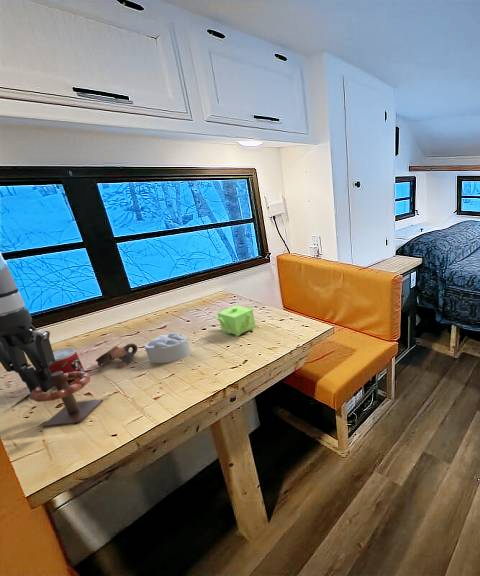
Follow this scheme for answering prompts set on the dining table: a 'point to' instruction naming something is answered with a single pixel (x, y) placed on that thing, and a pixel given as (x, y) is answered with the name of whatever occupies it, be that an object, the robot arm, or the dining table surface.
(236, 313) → the knobby lime green cube
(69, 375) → the ring
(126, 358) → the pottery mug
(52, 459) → the dining table surface
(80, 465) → the dining table surface
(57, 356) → the canned food
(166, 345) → the lumpy-topped squat cylinder
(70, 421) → the post
